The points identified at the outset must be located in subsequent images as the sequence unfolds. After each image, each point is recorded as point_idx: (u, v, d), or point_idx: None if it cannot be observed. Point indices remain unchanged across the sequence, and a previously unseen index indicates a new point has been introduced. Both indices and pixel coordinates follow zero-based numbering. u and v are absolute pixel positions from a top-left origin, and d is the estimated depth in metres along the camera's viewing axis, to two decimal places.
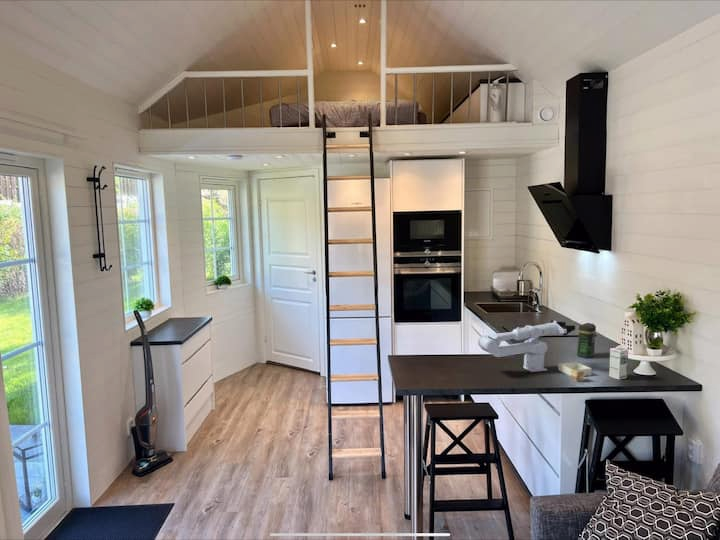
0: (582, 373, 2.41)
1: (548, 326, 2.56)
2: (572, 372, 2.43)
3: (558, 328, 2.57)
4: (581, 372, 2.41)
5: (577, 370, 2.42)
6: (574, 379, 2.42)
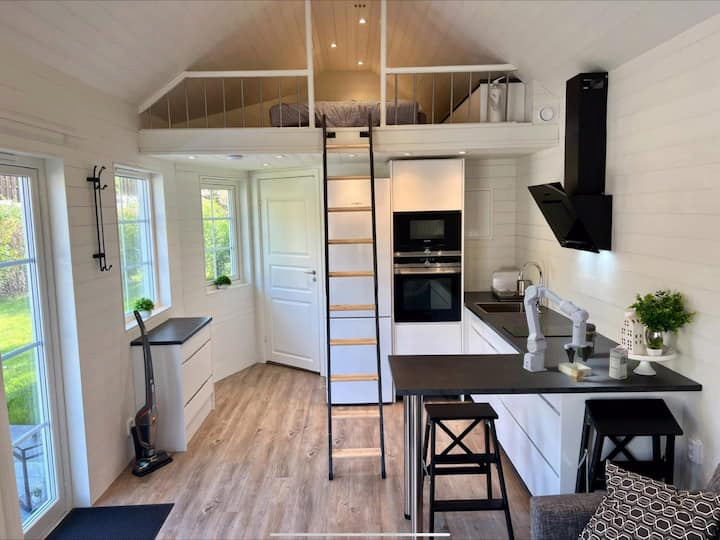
0: (582, 373, 2.41)
1: (581, 335, 2.37)
2: (572, 372, 2.43)
3: (574, 344, 2.39)
4: (581, 372, 2.41)
5: (577, 370, 2.42)
6: (574, 379, 2.42)
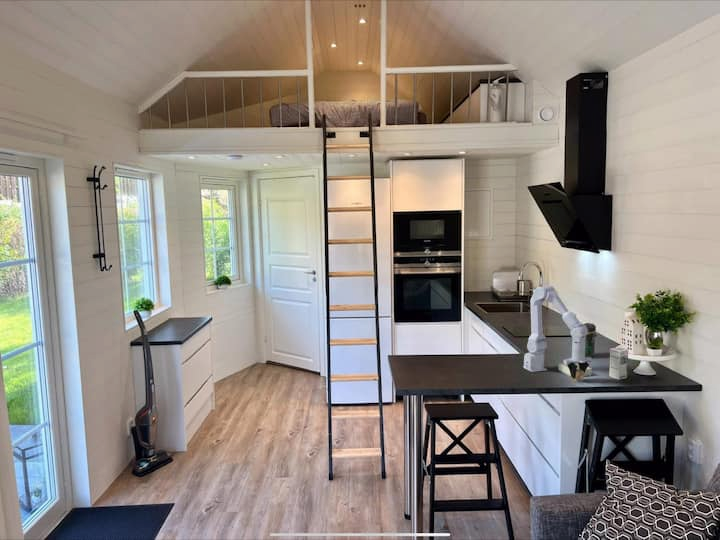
0: (582, 373, 2.41)
1: (580, 350, 2.38)
2: None
3: (573, 360, 2.40)
4: (581, 372, 2.41)
5: (577, 370, 2.42)
6: (574, 379, 2.42)
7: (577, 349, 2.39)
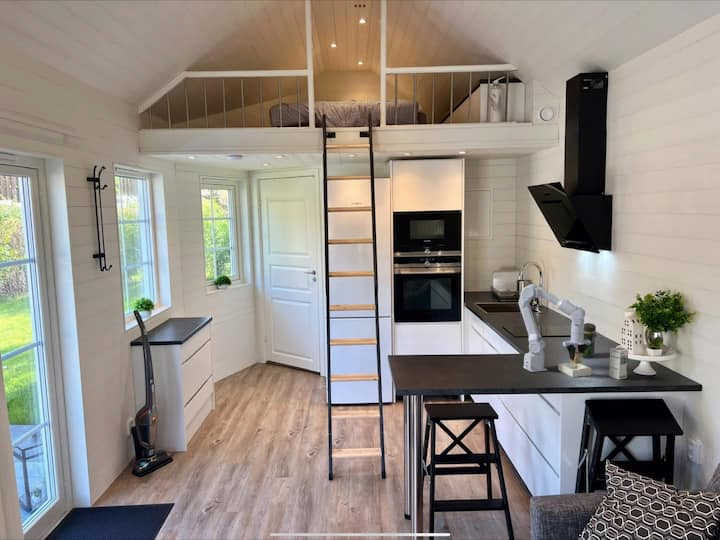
0: (581, 355, 2.47)
1: (581, 332, 2.44)
2: None
3: (572, 342, 2.46)
4: (580, 354, 2.46)
5: (576, 352, 2.48)
6: (573, 361, 2.47)
7: (578, 331, 2.44)
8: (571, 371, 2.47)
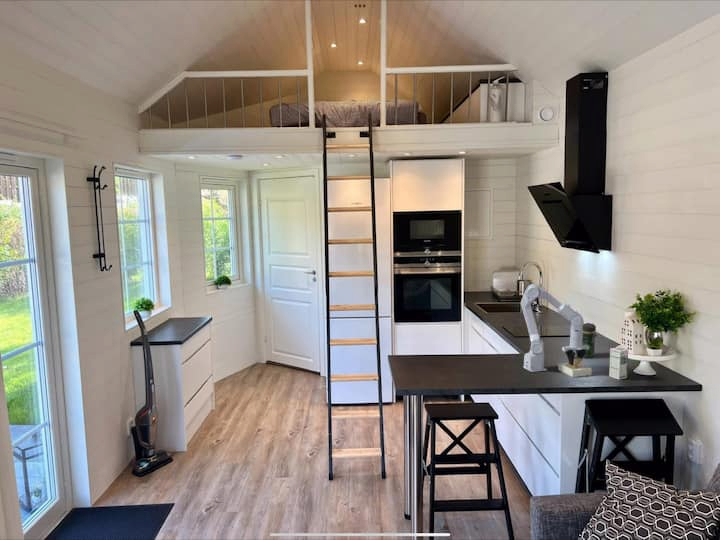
0: (580, 360, 2.51)
1: (581, 338, 2.49)
2: None
3: (571, 347, 2.50)
4: (579, 359, 2.51)
5: (575, 357, 2.52)
6: (572, 366, 2.52)
7: (578, 337, 2.48)
8: (571, 371, 2.47)
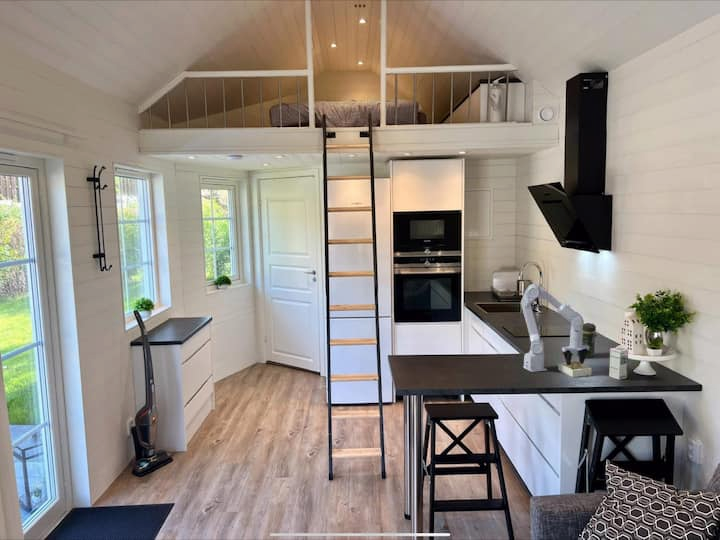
0: (580, 365, 2.51)
1: (581, 338, 2.49)
2: None
3: (571, 347, 2.50)
4: (579, 364, 2.51)
5: (575, 362, 2.53)
6: None
7: (578, 337, 2.48)
8: (571, 371, 2.47)
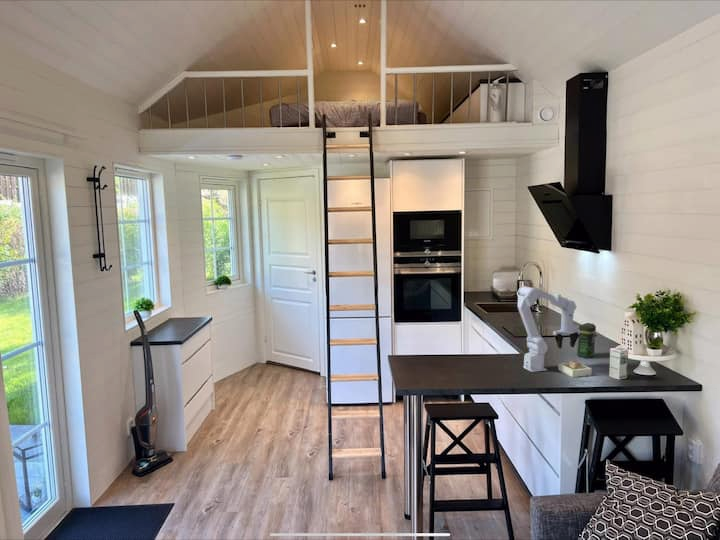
0: (580, 365, 2.51)
1: (572, 321, 2.60)
2: (570, 364, 2.53)
3: (562, 331, 2.61)
4: (579, 364, 2.51)
5: (575, 362, 2.53)
6: None
7: (572, 321, 2.59)
8: (571, 371, 2.47)
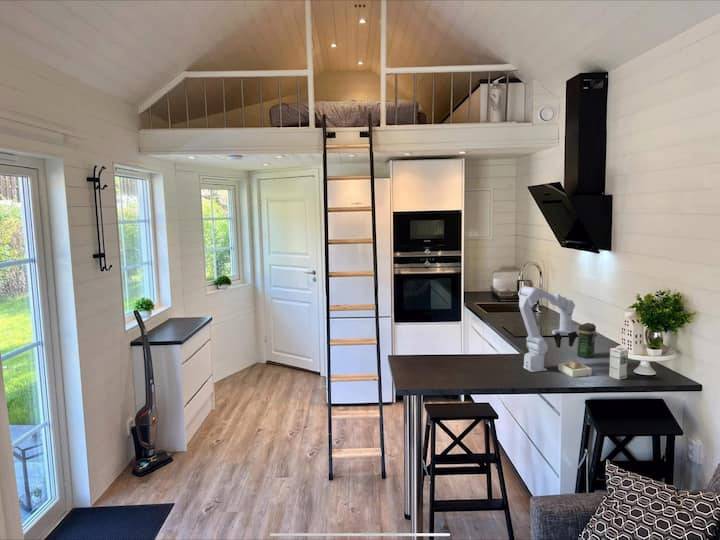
0: (580, 365, 2.51)
1: None
2: (570, 364, 2.53)
3: (561, 330, 2.62)
4: (579, 364, 2.51)
5: (575, 362, 2.53)
6: None
7: (570, 320, 2.61)
8: (571, 371, 2.47)
